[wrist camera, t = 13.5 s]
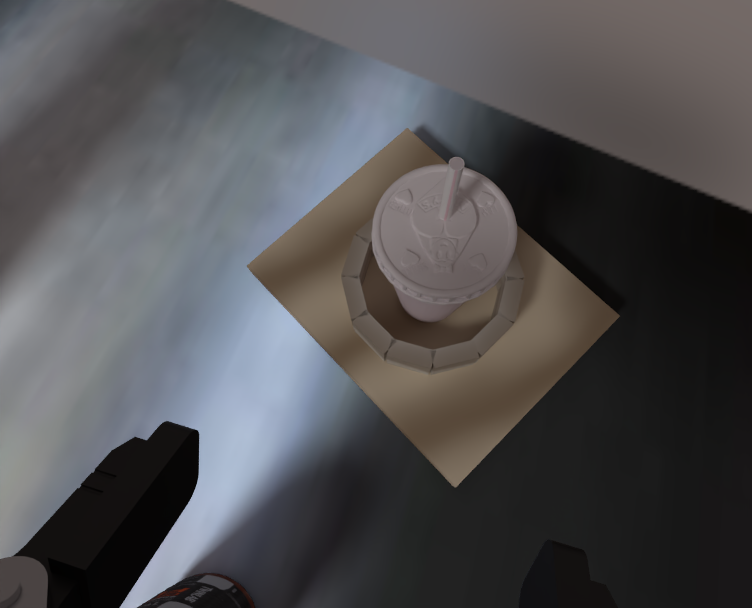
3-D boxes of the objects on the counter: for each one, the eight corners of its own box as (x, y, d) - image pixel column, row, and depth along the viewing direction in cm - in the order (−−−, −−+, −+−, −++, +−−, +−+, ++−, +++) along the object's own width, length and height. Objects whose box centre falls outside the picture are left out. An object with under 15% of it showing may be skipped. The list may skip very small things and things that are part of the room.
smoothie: (482, 245, 33) (544, 102, 20) (482, 347, 31) (551, 266, 18) (378, 242, 33) (370, 98, 20) (373, 342, 32) (361, 259, 18)
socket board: (252, 273, 35) (235, 251, 31) (406, 140, 37) (408, 104, 33) (452, 485, 31) (461, 490, 27) (610, 322, 33) (638, 304, 29)
